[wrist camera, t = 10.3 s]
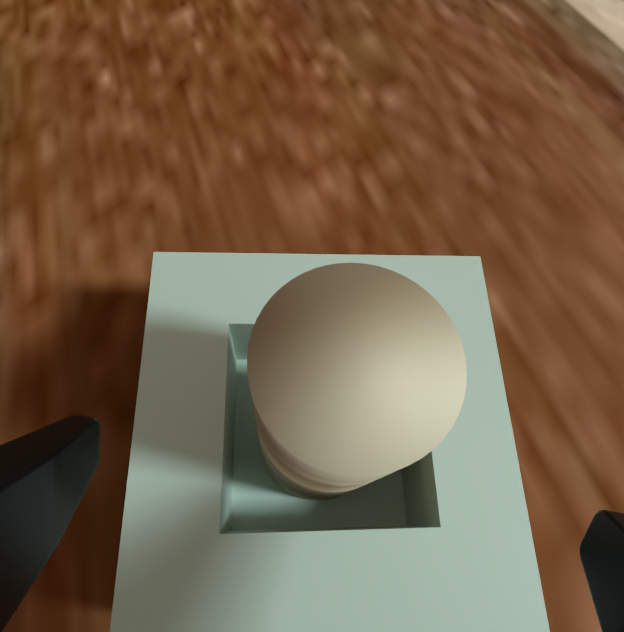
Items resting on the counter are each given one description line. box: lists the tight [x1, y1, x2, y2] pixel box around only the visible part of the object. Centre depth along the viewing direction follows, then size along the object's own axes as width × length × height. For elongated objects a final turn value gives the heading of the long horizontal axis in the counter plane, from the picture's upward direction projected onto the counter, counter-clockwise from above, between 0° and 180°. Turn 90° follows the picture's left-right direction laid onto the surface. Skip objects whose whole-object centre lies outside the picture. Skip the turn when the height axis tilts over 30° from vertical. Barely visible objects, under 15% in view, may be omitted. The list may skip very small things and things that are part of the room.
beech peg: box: [247, 263, 467, 501], centre depth 14 cm, size 4×4×10 cm
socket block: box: [110, 252, 550, 632], centre depth 18 cm, size 12×12×5 cm
